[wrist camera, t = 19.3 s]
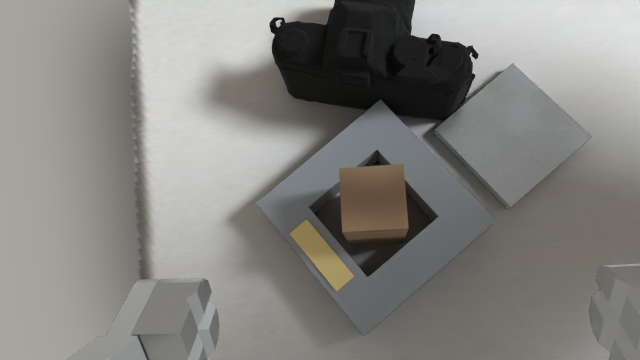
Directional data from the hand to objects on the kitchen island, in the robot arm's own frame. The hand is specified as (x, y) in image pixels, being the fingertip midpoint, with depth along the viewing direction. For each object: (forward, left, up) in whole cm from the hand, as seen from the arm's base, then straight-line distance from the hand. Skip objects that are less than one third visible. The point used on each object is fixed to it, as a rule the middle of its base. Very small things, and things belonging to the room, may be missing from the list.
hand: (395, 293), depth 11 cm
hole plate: (+5, -3, -27) cm, 28 cm away
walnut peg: (+5, -3, -27) cm, 28 cm away
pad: (+3, -15, -27) cm, 31 cm away
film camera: (+15, -12, -28) cm, 34 cm away
